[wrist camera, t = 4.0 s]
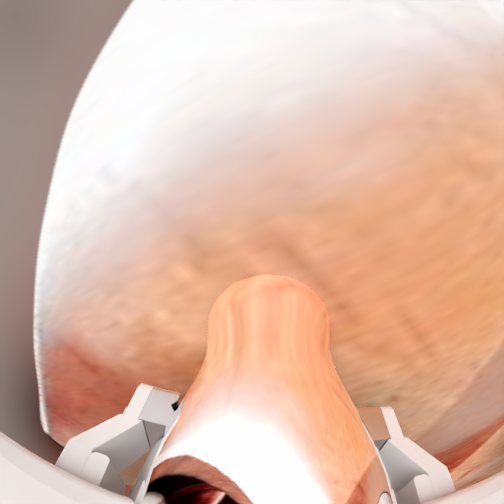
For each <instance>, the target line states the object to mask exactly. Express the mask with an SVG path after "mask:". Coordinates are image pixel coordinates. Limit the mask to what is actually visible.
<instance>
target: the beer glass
mask: <svg viewBox="0 0 504 504" xmlns="http://www.w3.org/2000/svg"><path fill="white" fill-rule="evenodd" d="M335 368H336V367H335V366H334V363H333V361H332V357H331V353H330V320H329V314H328V311H327V308H326V306H325V304H324V303H323V301H322V300H321V298H320V297H319V296H318V295H317V293H316V292H315V291H314V290H312V289H311V288H310V287H309V286H307V285H306V284H304V283H302V282H301V281H298V280H296V279H294V278H291V277H287V276H283V275H275V274H263V275H256V276H251V277H248V278H245V279H242V280H240V281H238V282H236V283H234V284H232V285H231V286H229V287H228V288H227V289H226V290H224V291H223V292H222V293H221V294H220V295H219V297H218V298H217V299H216V301H215V302H214V304H213V306H212V308H211V310H210V313H209V317H208V326H207V350H206V355H205V358H204V361H203V363H202V366H201V368H200V370H199V372H198V374H197V376H196V377H195V379H194V381H193V383H192V384H191V386H190V388H189V389H188V391H187V393H186V394H185V396H184V397H183V399H182V400H181V402H180V404H179V405H178V407H177V408H176V410H175V412H174V413H173V415H172V416H171V418H170V420H169V421H168V423H167V425H166V426H165V428H164V429H163V431H162V433H161V434H160V436H159V437H158V439H157V441H156V442H155V444H154V446H153V448H152V450H151V452H150V453H149V455H148V457H147V459H146V461H145V463H144V465H143V466H142V468H141V470H140V472H139V474H138V476H137V477H136V480H135V482H134V485H133V487H132V490H131V492H130V495H129V498H130V503H129V504H399V501H398V498H397V494H396V491H395V488H394V484H393V481H392V479H391V477H390V474H389V472H388V470H387V468H386V465H385V463H384V461H383V459H382V456H381V454H380V452H379V450H378V447H377V445H376V443H375V441H374V439H373V438H372V436H371V434H370V432H369V430H368V428H367V426H366V425H365V423H364V421H363V419H362V417H361V415H360V413H359V412H358V410H357V408H356V406H355V404H354V403H353V401H352V399H351V397H350V396H349V394H348V392H347V390H346V389H345V387H344V385H343V383H342V381H341V379H340V377H339V375H338V373H337V371H336V369H335Z"/></svg>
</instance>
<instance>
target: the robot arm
mask: <svg viewBox="0 0 504 504" xmlns="http://www.w3.org/2000/svg"><path fill="white" fill-rule="evenodd" d="M182 399H183V395H182V393H179V392H175V391H171V390H167V389H163V388H159V387H155V386H151V385H147V384H143V383H141V384H140V385H139V386H138V387H137V389H136V391H135V393H134V395H133V397H132V399H131V401H130V403H129V405H128V407H127V409H126V411H125V413H124V415H123V414H118V415H117V416H115V417H113V418H111V419H109V420H107V421H105V422H103V423H101V424H99V425H97V426H95V427H93V428H91V429H89V430H87V431H85V432H83V433H81V434H79V435H77V436H75V437H73V438H71V439H70V440H69V441H68V443H67V445H66V446H65V448H64V450H63V452H62V453H61V455H60V457H59V459H58V460H57V462H56V464H55V465H53V464H51V463H49V462H47V461H46V460H44V459H42V458H40V457H39V456H37V455H35V454H34V453H32V452H30V451H29V450H27V449H25V448H24V447H22V446H21V445H19V444H18V443H16V442H15V441H13V440H12V439H10V438H9V437H7V436H6V435H5V434H3V433H2V432H0V504H129V503H130V498H129V497H126V496H124V493H125V490H126V487H125V486H124V484H123V482H122V480H121V479H120V477H119V475H118V473H120V472H121V471H123V470H124V469H125V468H127V467H128V466H129V465H131V464H132V463H134V462H135V461H136V460H138V459H139V458H140V457H141V456H143V455H144V454H145V453H147V452H148V451H149V450H150V448H151V449H152V448H153V446H154V444H155V442H156V441H157V439H158V437H159V436H160V434H161V433H162V431H163V429H164V428H165V426H166V425H167V423H168V421H169V420H170V418H171V416H172V415H173V413H174V412H175V410H176V408H177V407H178V405H179V404H180V402H181V400H182ZM357 410H358V412H359V413H360V415H361V417H362V419H363V421H364V423H365V425H366V426H367V428H368V430H369V432H370V434H371V436H372V438H373V439H374V441H375V443H376V445H377V447H378V450H379V452H380V454H381V456H382V459H383V461H384V463H385V465H386V468H387V470H388V472H389V474H390V477H391V479H392V481H393V484H394V488H395V491H396V494H397V498H398V501H399V504H504V470H502V471H500V472H498V473H496V474H495V475H493V476H490V477H488V478H486V479H484V480H482V481H480V482H478V483H476V484H473V485H471V486H469V487H466V488H464V489H461V490H459V491H456V490H455V487H454V485H453V482H452V479H451V477H450V474H449V471H448V469H447V467H446V466H445V465H443V464H442V463H441V462H439V461H438V460H437V459H435V458H434V457H433V456H431V455H430V454H429V453H427V452H426V451H425V450H423V449H422V448H421V447H419V446H418V445H417V444H415V443H414V442H413V441H412V440H410V439H409V438H408V437H404V436H403V434H402V431H401V428H400V426H399V423H398V421H397V418H396V415H395V413H394V410H393V408H392V407H391V406H385V407H366V408H357Z"/></svg>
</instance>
